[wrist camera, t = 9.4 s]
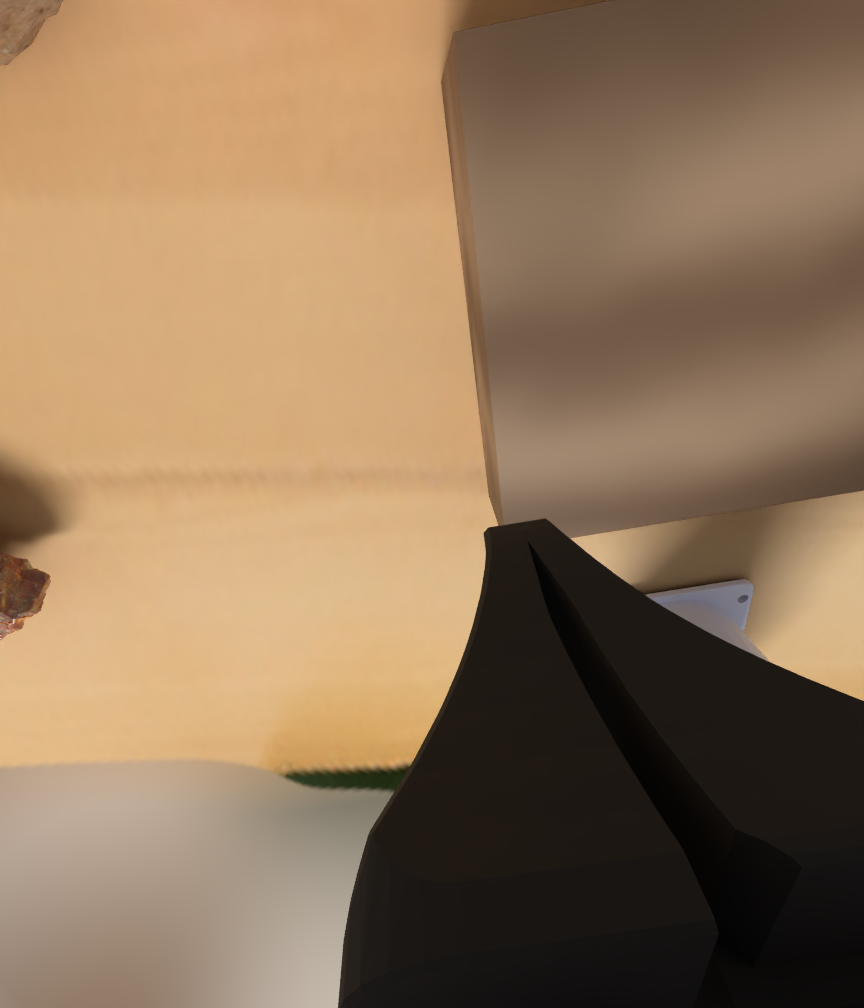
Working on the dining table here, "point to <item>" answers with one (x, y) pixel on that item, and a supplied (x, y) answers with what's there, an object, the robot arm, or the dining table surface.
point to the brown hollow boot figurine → (22, 24)
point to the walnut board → (663, 256)
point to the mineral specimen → (19, 592)
